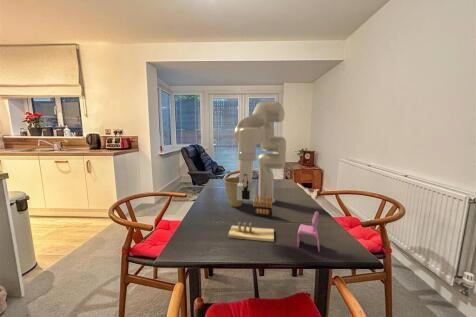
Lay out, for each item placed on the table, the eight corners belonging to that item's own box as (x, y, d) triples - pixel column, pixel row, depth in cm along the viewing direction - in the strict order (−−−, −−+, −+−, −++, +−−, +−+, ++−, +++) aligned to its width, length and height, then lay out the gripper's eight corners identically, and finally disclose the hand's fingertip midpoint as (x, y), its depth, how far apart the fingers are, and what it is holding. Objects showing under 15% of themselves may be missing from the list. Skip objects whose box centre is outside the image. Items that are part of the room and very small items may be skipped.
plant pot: (238, 211, 121) (238, 184, 119) (219, 205, 130) (219, 180, 127) (252, 203, 133) (253, 179, 130) (234, 198, 142) (234, 176, 139)
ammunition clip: (252, 214, 116) (253, 194, 114) (253, 213, 118) (253, 193, 116) (272, 216, 114) (272, 195, 112) (272, 215, 116) (272, 194, 114)
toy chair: (298, 238, 92) (299, 206, 90) (319, 242, 89) (321, 209, 86) (296, 248, 84) (297, 213, 82) (319, 253, 81) (321, 217, 79)
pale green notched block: (238, 196, 96) (238, 182, 95) (255, 197, 95) (256, 183, 94) (236, 200, 91) (237, 185, 90) (255, 201, 90) (255, 186, 89)
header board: (231, 227, 101) (231, 217, 100) (273, 231, 98) (274, 220, 97) (228, 237, 92) (228, 226, 92) (273, 241, 89) (274, 230, 88)
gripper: (241, 154, 99) (240, 191, 102) (235, 159, 83) (235, 203, 85) (256, 154, 98) (256, 191, 101) (254, 159, 82) (253, 204, 84)
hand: (246, 196), depth 93 cm, fingers closed on pale green notched block, 4 cm apart
